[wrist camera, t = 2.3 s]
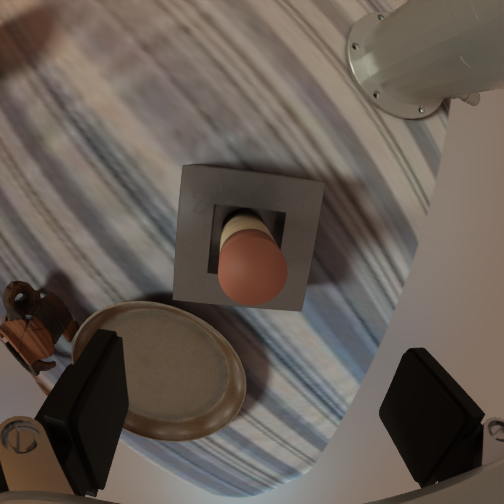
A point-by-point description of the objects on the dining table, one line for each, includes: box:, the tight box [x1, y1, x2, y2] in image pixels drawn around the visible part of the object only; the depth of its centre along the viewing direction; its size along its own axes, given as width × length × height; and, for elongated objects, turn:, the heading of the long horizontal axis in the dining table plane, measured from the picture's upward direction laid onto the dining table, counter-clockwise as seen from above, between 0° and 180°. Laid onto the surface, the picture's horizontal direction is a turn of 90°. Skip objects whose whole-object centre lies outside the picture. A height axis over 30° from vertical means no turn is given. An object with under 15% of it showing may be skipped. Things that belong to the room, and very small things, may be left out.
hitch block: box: [173, 164, 325, 311], centre depth 28 cm, size 11×11×6 cm
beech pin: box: [218, 208, 288, 305], centre depth 24 cm, size 4×4×12 cm
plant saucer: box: [71, 301, 246, 442], centre depth 34 cm, size 21×21×3 cm
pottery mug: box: [0, 281, 78, 376], centre depth 30 cm, size 12×10×8 cm
